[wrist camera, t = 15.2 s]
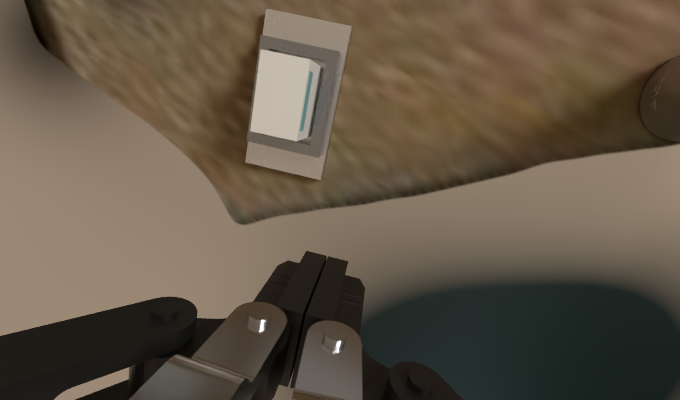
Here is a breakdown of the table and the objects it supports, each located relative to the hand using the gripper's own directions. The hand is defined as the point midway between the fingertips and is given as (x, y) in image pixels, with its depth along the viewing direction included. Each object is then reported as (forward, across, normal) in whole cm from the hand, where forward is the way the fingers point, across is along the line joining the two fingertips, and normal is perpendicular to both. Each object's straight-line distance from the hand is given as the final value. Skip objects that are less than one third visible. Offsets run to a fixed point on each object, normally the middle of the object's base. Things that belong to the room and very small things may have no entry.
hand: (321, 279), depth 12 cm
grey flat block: (+32, +10, -5) cm, 34 cm away
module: (+31, +10, -5) cm, 33 cm away
